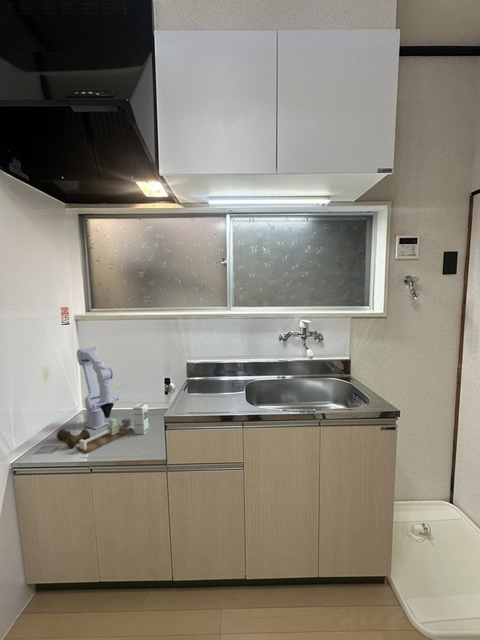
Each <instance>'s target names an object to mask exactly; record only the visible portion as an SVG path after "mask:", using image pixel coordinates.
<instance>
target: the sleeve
mask: <svg viewBox="0 0 480 640" xmlns="http://www.w3.org/2000/svg"><path fill="white" fill-rule="evenodd" d="M108 420H109V421H108V422H109V423H108V424H107V430H108V429H111V431H110V432H108V434H111V435H114V434H117V433H119V424H120V423H118V419H117V418H110V419H108Z"/></svg>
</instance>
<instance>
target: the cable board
mask: <svg viewBox="0 0 480 640" xmlns="http://www.w3.org/2000/svg"><path fill="white" fill-rule="evenodd" d="M132 432H134V428H132V427H129V428H128V429H125V428H124V427H123V426H121V427H120V428H119V433H117V434H114V435H111V434H108V433H106V434H104V435H102V436H100V437H97V438H95V439H93V440H91V441H89V442H87V449H86V450H83V449H81V448H80V445H79V446H77V447H76V446H75V447H76V448H75V449H76V450H77V451H79V452H81V453H83V454H89V453H91V452H93V451H95V450H97V449H99V448H101V447H104V446H105V445H107V444H109V443H111V442H114V441H115V440H117V439H119V438H122V437H123V436H126V435H127V434H129V433H132Z"/></svg>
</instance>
